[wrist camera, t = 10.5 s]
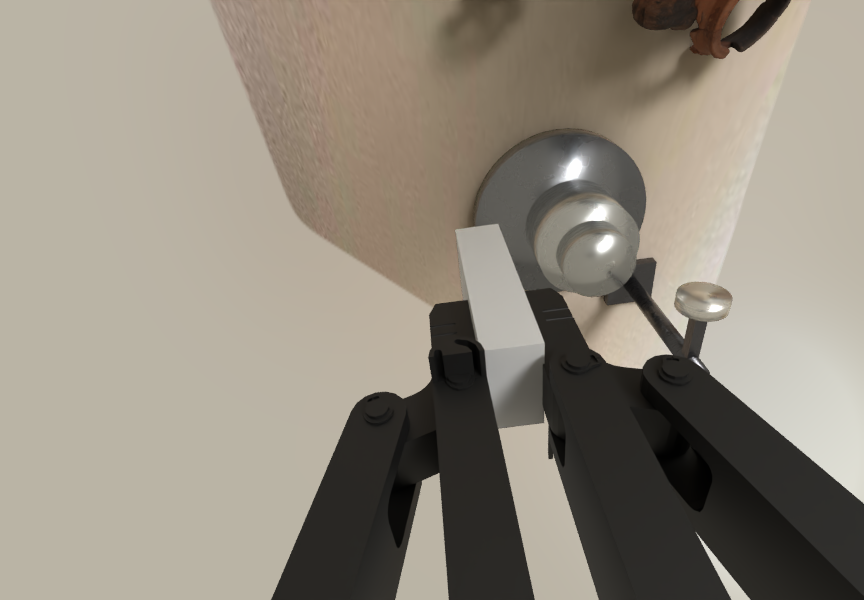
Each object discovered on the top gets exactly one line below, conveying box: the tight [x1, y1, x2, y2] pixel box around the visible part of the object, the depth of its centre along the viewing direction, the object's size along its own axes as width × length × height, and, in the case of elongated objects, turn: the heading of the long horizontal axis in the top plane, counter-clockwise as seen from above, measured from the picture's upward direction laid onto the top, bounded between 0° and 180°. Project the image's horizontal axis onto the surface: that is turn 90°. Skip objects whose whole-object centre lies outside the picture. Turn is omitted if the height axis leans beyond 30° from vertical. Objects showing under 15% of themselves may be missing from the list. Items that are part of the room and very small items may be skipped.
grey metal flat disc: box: [474, 128, 646, 292], centre depth 48 cm, size 17×17×2 cm
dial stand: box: [604, 258, 732, 374], centre depth 46 cm, size 10×5×16 cm, turn 7°
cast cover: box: [525, 179, 640, 297], centre depth 44 cm, size 9×9×9 cm
